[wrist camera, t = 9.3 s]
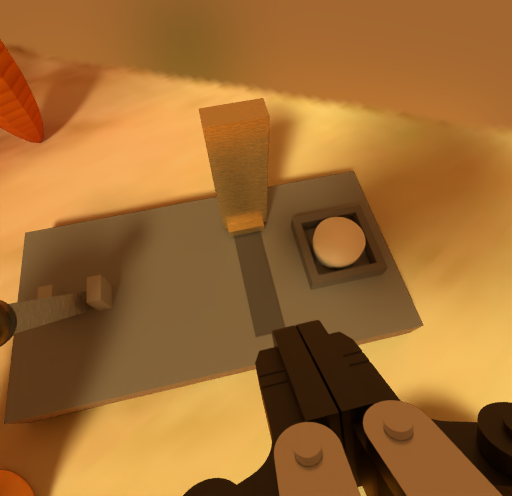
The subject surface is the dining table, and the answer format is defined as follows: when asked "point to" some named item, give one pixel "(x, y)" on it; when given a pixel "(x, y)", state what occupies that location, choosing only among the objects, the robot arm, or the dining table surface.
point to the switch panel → (193, 296)
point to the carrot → (17, 102)
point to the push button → (338, 242)
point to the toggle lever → (39, 312)
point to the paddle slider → (239, 162)
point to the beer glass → (13, 485)
